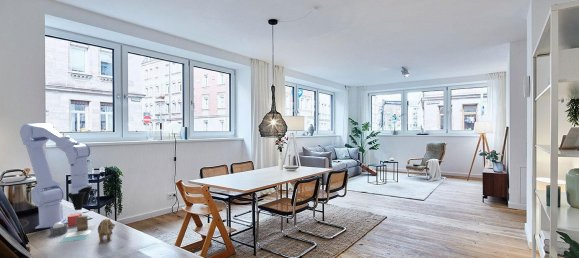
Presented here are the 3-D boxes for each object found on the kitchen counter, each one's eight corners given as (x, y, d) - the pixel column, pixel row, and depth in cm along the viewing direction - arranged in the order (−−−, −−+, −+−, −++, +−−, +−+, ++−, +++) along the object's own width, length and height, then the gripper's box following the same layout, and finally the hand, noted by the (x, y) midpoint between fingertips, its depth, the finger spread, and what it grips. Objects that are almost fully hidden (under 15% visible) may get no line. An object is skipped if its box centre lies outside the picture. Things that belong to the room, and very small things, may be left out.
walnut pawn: (78, 228, 125) (78, 216, 125) (89, 226, 126) (88, 215, 126) (76, 231, 122) (75, 218, 122) (86, 229, 123) (85, 217, 123)
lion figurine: (116, 243, 109) (115, 219, 109) (99, 247, 106) (97, 222, 106) (112, 231, 121) (111, 209, 121) (96, 234, 118) (95, 212, 118)
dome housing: (53, 231, 122) (53, 224, 122) (68, 229, 124) (68, 223, 123) (48, 236, 117) (48, 229, 117) (64, 234, 119) (63, 227, 119)
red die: (71, 223, 132) (70, 213, 131) (82, 221, 133) (81, 212, 133) (68, 226, 128) (67, 216, 128) (79, 224, 129) (78, 214, 129)
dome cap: (55, 230, 121) (54, 221, 121) (65, 229, 123) (65, 220, 123) (51, 233, 118) (51, 224, 118) (62, 232, 119) (62, 223, 119)
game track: (73, 228, 125) (73, 228, 125) (95, 225, 128) (95, 225, 128) (59, 242, 111) (59, 242, 111) (85, 239, 114) (85, 239, 114)
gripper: (85, 176, 117) (87, 211, 118) (95, 170, 131) (97, 201, 132) (64, 178, 115) (66, 213, 116) (76, 171, 129) (78, 203, 129)
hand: (81, 207), depth 124 cm, fingers open, 7 cm apart
